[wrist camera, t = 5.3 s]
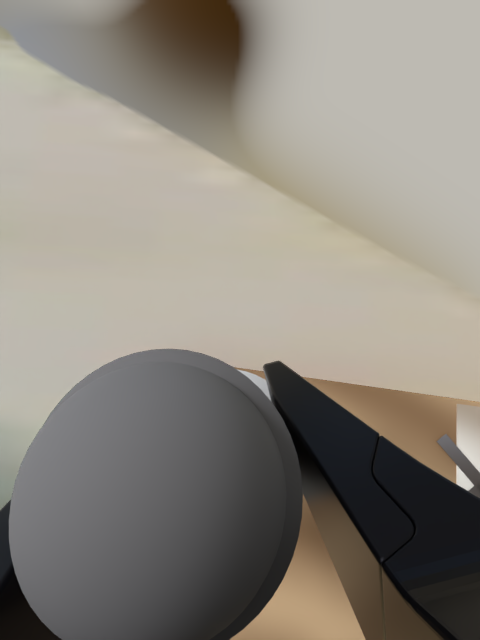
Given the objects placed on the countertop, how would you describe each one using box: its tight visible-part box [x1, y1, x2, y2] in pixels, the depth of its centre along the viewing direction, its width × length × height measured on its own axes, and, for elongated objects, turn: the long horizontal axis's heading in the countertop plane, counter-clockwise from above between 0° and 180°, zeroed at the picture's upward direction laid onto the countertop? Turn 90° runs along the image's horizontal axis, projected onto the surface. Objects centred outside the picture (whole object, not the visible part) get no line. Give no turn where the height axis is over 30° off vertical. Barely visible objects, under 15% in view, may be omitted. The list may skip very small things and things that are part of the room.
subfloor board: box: [229, 367, 480, 640], centre depth 18 cm, size 16×23×2 cm
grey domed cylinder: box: [9, 349, 303, 640], centre depth 8 cm, size 5×5×11 cm
